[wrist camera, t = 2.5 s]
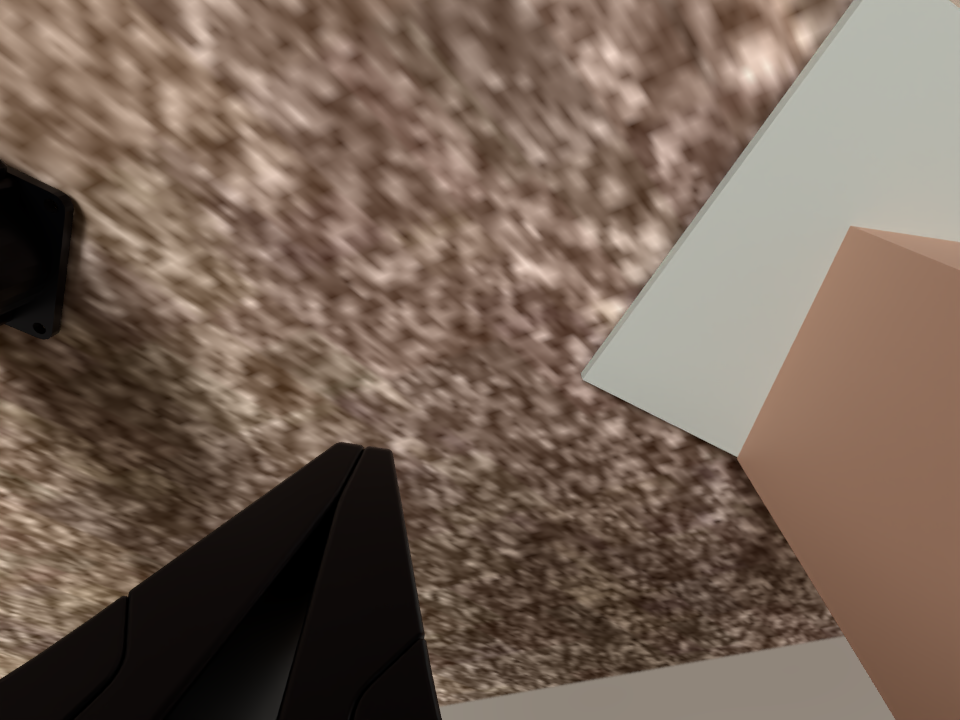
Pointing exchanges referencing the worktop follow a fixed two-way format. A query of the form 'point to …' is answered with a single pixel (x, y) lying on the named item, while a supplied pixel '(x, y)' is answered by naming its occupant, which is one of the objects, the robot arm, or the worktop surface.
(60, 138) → the worktop surface
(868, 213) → the rubber mat
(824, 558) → the terracotta slab
